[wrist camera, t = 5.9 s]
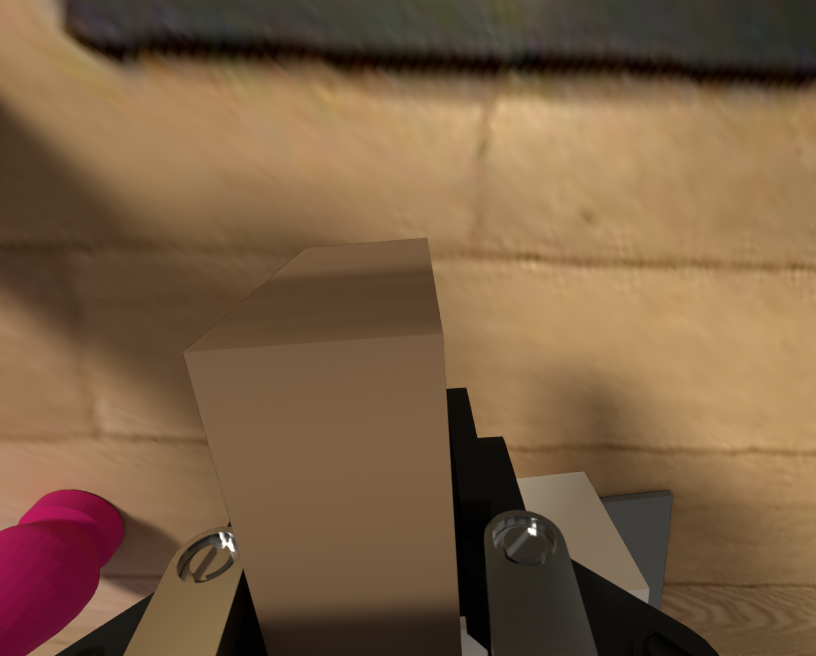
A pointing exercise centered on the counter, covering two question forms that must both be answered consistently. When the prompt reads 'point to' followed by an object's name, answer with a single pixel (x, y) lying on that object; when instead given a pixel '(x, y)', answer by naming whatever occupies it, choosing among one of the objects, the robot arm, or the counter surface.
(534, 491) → the tile
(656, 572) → the tile mat
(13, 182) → the counter surface
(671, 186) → the counter surface
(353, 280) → the wooden handled spatula
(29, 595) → the pepper mill
